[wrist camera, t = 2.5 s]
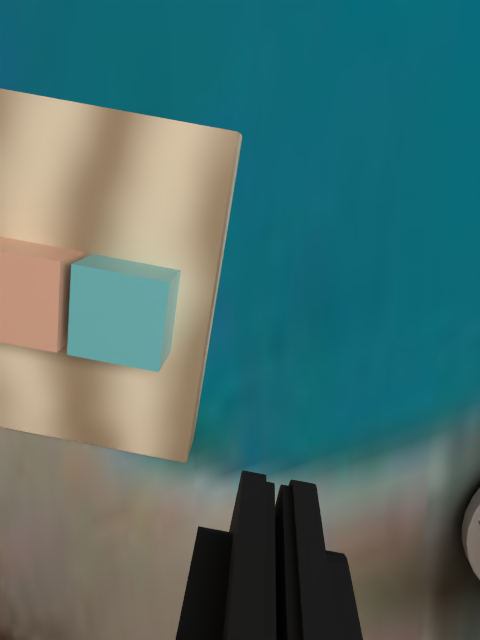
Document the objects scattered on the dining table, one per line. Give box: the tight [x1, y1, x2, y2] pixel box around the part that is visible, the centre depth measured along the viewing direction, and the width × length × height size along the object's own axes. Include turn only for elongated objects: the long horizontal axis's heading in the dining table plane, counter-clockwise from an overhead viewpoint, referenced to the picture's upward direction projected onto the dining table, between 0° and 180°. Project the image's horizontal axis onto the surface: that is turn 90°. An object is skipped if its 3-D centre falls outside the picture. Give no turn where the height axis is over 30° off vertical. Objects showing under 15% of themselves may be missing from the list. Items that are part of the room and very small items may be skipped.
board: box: [0, 89, 242, 463], centre depth 24 cm, size 12×18×2 cm, turn 170°
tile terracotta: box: [0, 236, 83, 353], centre depth 22 cm, size 4×4×2 cm
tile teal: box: [67, 254, 181, 372], centre depth 22 cm, size 4×4×2 cm
